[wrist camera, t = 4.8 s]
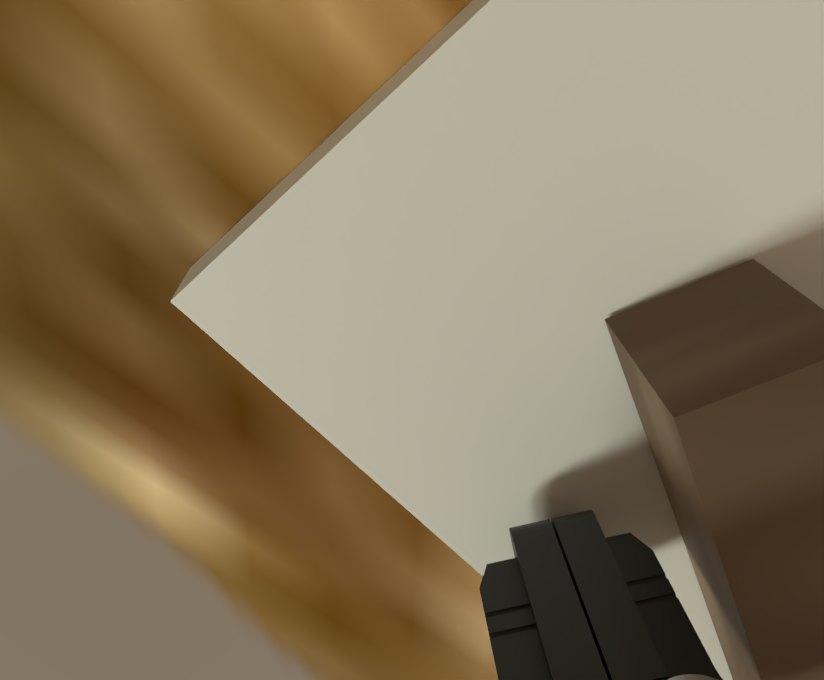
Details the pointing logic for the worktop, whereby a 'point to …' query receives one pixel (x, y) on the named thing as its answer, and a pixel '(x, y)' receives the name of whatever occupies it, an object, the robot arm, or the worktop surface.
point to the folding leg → (740, 455)
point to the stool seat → (527, 253)
